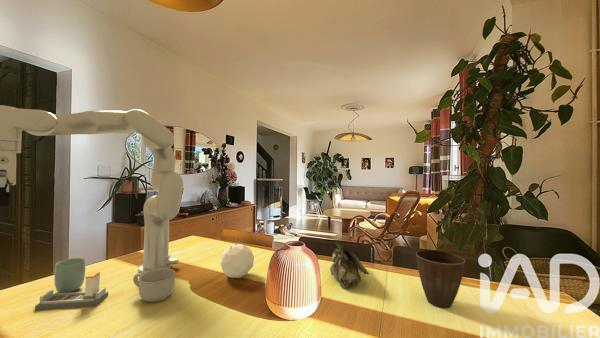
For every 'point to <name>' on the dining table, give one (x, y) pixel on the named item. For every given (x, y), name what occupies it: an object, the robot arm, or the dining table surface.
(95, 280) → the fader tab
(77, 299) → the grey tray
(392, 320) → the dining table surface
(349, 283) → the hollow geode rock
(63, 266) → the cup
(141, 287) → the teacup
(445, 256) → the plant pot
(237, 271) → the geodesic sphere
